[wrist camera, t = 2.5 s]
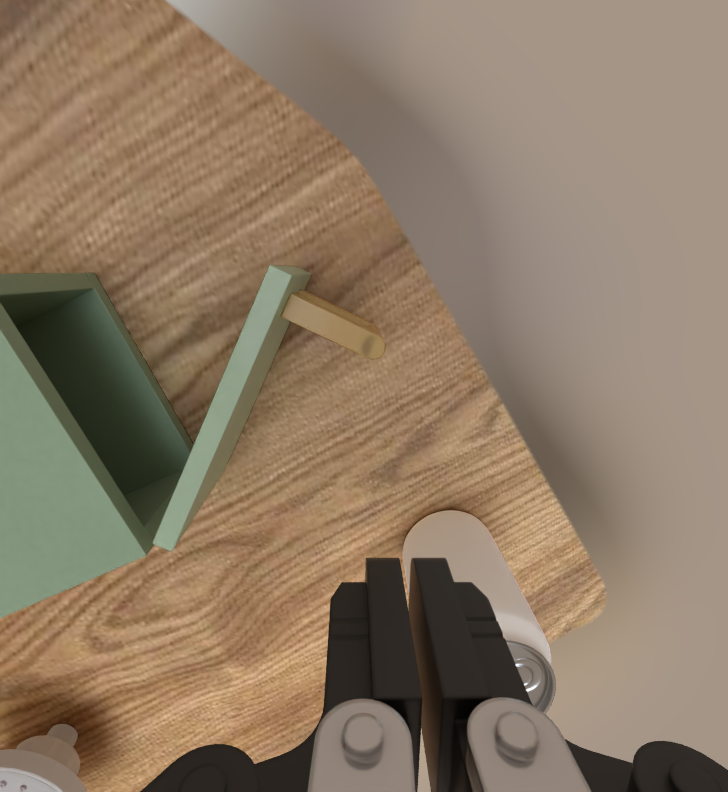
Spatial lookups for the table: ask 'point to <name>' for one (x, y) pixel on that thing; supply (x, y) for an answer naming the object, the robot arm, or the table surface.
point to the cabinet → (76, 439)
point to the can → (488, 591)
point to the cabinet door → (256, 382)
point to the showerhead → (42, 763)
